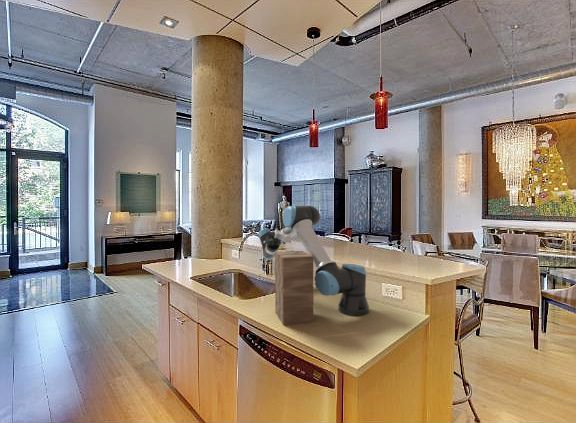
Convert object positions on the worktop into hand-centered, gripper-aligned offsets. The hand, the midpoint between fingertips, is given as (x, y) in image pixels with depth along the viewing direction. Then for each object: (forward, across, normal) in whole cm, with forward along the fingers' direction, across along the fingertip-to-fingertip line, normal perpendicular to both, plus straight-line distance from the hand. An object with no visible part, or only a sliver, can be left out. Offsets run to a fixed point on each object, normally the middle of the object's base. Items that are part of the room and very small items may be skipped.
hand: (280, 230), depth 175 cm
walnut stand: (+4, 0, -47) cm, 47 cm away
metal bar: (+1, 0, -6) cm, 6 cm away
